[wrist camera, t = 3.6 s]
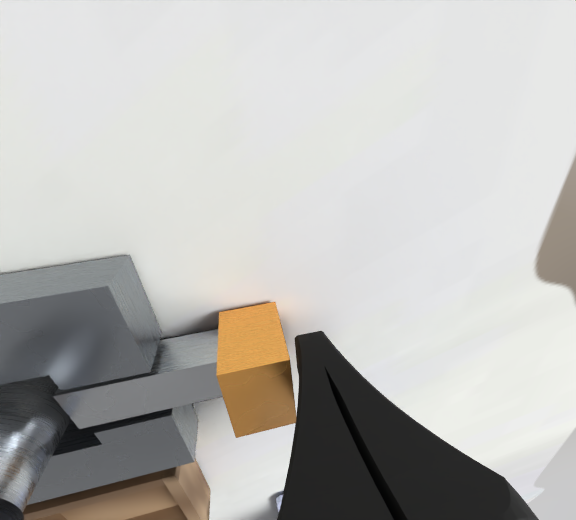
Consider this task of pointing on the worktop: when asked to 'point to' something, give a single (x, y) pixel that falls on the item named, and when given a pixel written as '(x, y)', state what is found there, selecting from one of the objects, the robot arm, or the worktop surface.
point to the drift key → (203, 376)
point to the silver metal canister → (26, 439)
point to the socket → (91, 368)
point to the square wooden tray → (134, 499)
